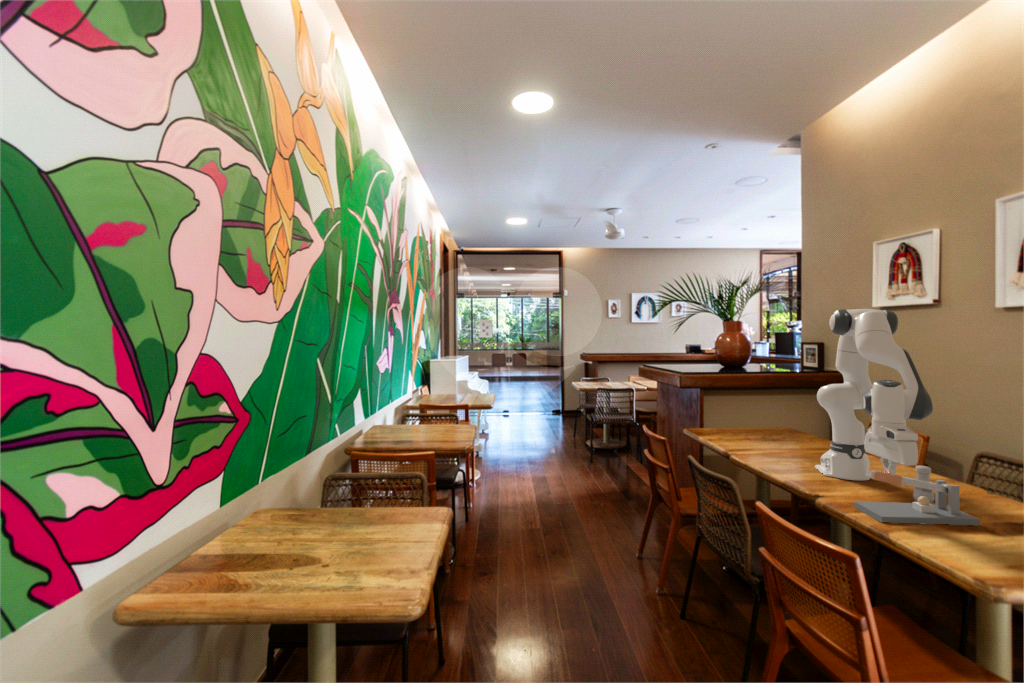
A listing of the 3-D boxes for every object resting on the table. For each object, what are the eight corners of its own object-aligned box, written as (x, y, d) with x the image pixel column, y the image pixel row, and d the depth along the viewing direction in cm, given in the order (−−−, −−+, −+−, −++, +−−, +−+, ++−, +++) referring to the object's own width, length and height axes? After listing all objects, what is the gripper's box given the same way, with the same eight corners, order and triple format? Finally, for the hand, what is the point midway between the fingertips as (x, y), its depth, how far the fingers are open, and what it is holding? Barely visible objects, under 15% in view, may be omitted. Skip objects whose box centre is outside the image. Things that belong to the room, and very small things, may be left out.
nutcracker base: (943, 509, 160) (943, 477, 160) (980, 525, 146) (979, 490, 146) (854, 507, 163) (854, 475, 163) (881, 523, 149) (881, 487, 149)
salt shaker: (926, 500, 168) (926, 464, 168) (939, 506, 163) (938, 468, 163) (908, 500, 169) (908, 464, 169) (920, 506, 163) (920, 468, 163)
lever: (946, 494, 155) (948, 483, 155) (955, 498, 151) (957, 487, 151) (863, 477, 157) (865, 467, 157) (870, 481, 154) (872, 470, 154)
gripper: (858, 424, 165) (859, 464, 165) (900, 435, 145) (900, 481, 145) (878, 425, 165) (878, 465, 164) (922, 436, 144) (923, 481, 144)
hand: (889, 472), depth 155 cm, fingers closed, pressing on lever
